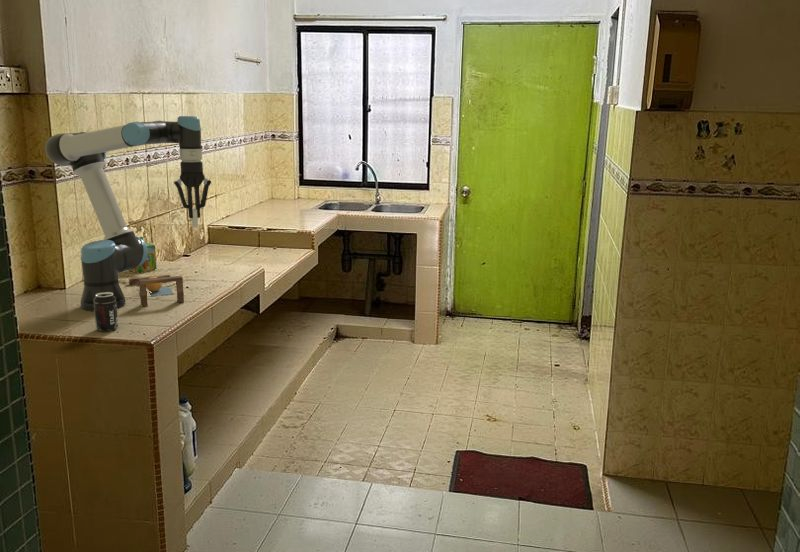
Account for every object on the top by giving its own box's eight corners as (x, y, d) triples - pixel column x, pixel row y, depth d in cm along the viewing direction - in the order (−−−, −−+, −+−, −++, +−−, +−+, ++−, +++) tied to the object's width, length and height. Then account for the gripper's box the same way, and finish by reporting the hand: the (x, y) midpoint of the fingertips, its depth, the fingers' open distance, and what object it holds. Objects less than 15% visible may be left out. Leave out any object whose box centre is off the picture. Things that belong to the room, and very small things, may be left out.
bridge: (184, 302, 263) (182, 277, 261) (141, 307, 257) (139, 281, 255) (182, 300, 266) (181, 275, 264) (140, 304, 260) (138, 279, 257)
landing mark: (141, 297, 269) (141, 297, 269) (137, 290, 280) (137, 289, 280) (173, 294, 275) (173, 293, 274) (169, 287, 285) (168, 286, 285)
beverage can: (92, 332, 228) (89, 296, 225) (101, 326, 235) (98, 291, 232) (113, 332, 228) (110, 297, 225) (121, 326, 235) (118, 291, 232)
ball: (145, 294, 278) (147, 290, 273) (144, 279, 279) (145, 275, 274) (161, 292, 280) (163, 288, 275) (159, 278, 282) (161, 274, 277)
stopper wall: (129, 285, 287) (129, 279, 286) (129, 284, 288) (128, 278, 288) (170, 281, 294) (170, 275, 293) (169, 280, 295) (169, 274, 295)
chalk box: (140, 273, 306) (137, 240, 303) (126, 270, 311) (124, 238, 308) (157, 269, 314) (155, 237, 310) (144, 267, 319) (142, 234, 315)
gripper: (173, 162, 241) (178, 229, 247) (212, 161, 247) (215, 227, 252) (170, 160, 248) (174, 226, 253) (207, 159, 253) (211, 224, 259)
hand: (195, 227), depth 253 cm, fingers closed
